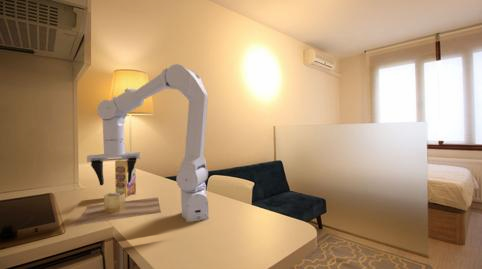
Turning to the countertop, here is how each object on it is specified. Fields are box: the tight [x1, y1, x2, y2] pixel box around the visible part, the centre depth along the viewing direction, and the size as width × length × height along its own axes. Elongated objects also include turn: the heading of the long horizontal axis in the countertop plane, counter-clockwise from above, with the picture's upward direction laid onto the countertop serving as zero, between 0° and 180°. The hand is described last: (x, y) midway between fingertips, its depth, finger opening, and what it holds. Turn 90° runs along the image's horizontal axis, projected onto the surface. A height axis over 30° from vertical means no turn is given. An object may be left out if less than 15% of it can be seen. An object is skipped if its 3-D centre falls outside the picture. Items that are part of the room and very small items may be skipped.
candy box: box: [114, 159, 137, 199], centre depth 92 cm, size 9×4×15 cm, turn 2°
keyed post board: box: [74, 192, 162, 227], centre depth 75 cm, size 17×22×6 cm
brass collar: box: [103, 192, 126, 213], centre depth 74 cm, size 5×6×5 cm
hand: (115, 183), depth 75 cm, fingers open, 7 cm apart
